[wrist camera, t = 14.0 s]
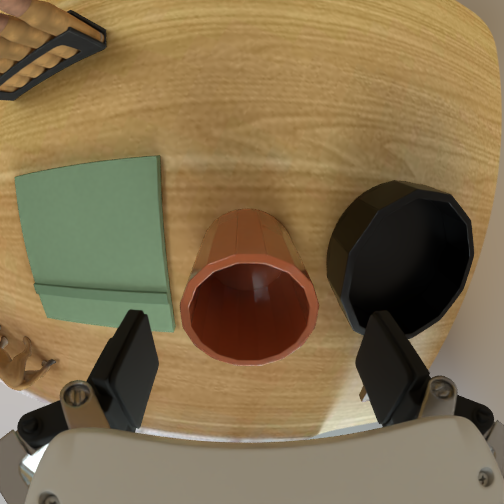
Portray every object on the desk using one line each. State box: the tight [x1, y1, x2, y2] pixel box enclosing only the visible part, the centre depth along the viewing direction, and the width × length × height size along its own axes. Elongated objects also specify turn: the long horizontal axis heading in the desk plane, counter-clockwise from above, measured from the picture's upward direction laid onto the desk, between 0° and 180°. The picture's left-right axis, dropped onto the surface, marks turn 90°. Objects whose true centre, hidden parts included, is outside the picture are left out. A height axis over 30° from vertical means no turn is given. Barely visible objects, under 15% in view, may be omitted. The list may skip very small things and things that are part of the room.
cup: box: [180, 209, 319, 366], centre depth 16 cm, size 6×6×8 cm
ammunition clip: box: [0, 0, 107, 101], centre depth 8 cm, size 11×2×12 cm, turn 98°
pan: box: [327, 180, 474, 402], centre depth 20 cm, size 12×20×4 cm, turn 179°
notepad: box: [15, 155, 175, 332], centre depth 19 cm, size 14×14×1 cm
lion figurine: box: [0, 326, 56, 391], centre depth 19 cm, size 15×5×9 cm, turn 82°
